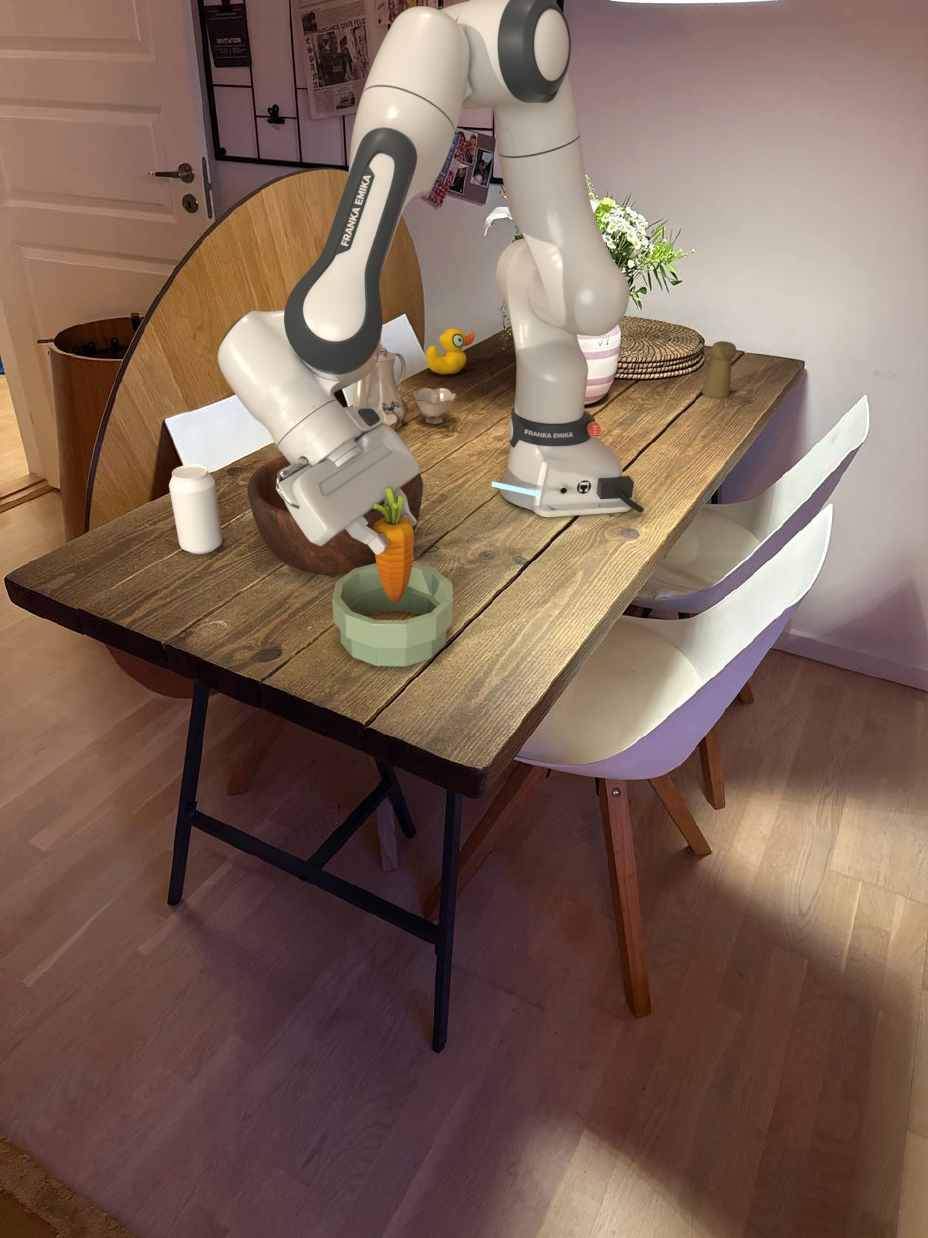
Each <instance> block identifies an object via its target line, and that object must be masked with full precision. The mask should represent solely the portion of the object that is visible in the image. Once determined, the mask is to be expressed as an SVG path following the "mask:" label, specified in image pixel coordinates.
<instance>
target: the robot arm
mask: <svg viewBox="0 0 928 1238" xmlns="http://www.w3.org/2000/svg"><path fill="white" fill-rule="evenodd" d="M571 52H572V39H571V31H570V25H569V22H568V20H567V18H566V16H565V14H564V13H563V11H562V9H561V7H560V6H559V5H558V3H557V2H556V0H467V1H463V2H459V3H455V4H453V5H449V6H445V7H444V8H443V7H431V6H426V5H417V6H412V7H410V8H407V9H404V11H402V12H401V13H400V14H399V15H398V16H397V17H396V18H395V19H394V21H392V23H391V26H390V27H389V29H388V31H387V33H386V35H385V37H384V39H383V41H382V42H381V45H380V47H379V49H378V51H377V52H376V56H375V58H374V61H373V63H372V65H371V68H370V70H369V73H368V75H367V78H366V80H365V84H364V87H363V90H362V93H361V96H360V99H359V104H358V107H357V110H356V114H355V119H354V123H353V128H352V134H351V141H350V151H349V159H348V160H349V164H348V165H349V166H348V175H347V180H346V183H345V186H344V189H343V192H342V195H341V197H340V201H339V204H338V207H337V209H336V213H335V215H334V218H333V222H332V224H331V228H330V230H329V232H328V236H327V239H326V242H325V245H324V247H323V249H322V251H321V253H320V255H319V256H318V258H317V259H316V261H315V262H314V263H313V264H312V266H311V267H310V268H309V269H308V270H307V272H305V274H303V276H302V277H301V278H300V279H299V280H298V282H297V283H296V284H295V286H294V287H293V288H292V290H291V291H290V293H289V296H288V298H287V300H286V303H285V306H284V309H281V310H268V311H267V310H266V311H264V310H257V309H255V310H254V309H253V310H250V311H249V312H246V313H245V314H244V315H242V316H240V317H239V318H238V319H237V320H236V321H235V322H234V323H232V325H231V326H230V327H229V328H228V330H226V332H225V334H224V335H223V337H222V339H221V341H220V343H219V346H218V349H217V363H218V366H219V369H220V372H221V373H222V375H223V377H224V379H225V380H226V382H227V384H228V385H229V387H230V389H231V390H232V391H233V392H234V394H235V396H236V397H237V399H239V401H240V402H241V403H242V405H243V406H244V407H245V409H246V410H247V412H248V413H249V414H250V415H251V416H252V418H253V419H255V420H256V421H257V422H259V423H260V424H262V426H264V428H265V429H267V431H268V432H269V434H270V436H271V438H272V441H273V444H274V445H275V446H276V448H277V449H278V450H279V451H280V452H281V454H282V456H285V457H286V459H287V460H288V461H289V462H290V464H291V465H290V466H288V467H287V468H283V469H281V470H280V471H279V472H278V473H277V479H276V490H277V491H278V493H279V494H280V495H281V497H282V498H283V499H284V501H285V504H286V506H287V508H288V510H289V511H290V513H291V515H292V516H293V518H294V519H295V521H296V523H297V524H298V526H299V527H300V529H301V530H302V531H303V533H304V534H305V536H306V537H307V538H308V539H309V541H310V542H312V543H314V544H316V545H318V546H323V545H324V544H326V543H327V542H328V541H330V540H331V539H332V538H334V537H335V536H336V535H338V534H339V533H340V532H342V531H343V530H345V529H346V530H347V531H348V533H349V534H350V535H351V536H352V537H353V538H355V539H357V540H359V541H361V542H363V543H365V544H368V546H369V547H370V548H371V549H372V551H373V552H374V553H375V554H376V555H379V554H380V553H382V552H383V551H384V550H385V549H387V548H388V547H389V546H390V545H391V542H390V540H389V539H387V537H386V535H385V534H384V533H383V532H382V533H381V534H378V533H376V532H375V531H373V530H372V529H370V528H369V527H367V526H366V525H367V524H368V522H367V521H366V519H365V518H364V517H363V515H365V514H366V513H367V512H369V511H370V510H372V509H373V505H374V504H380V503H381V502H382V501H384V502H385V503H388V504H389V505H390V503H389V500H388V497H387V494H386V491H385V489H387V488H388V487H389V488H392V489H393V492H394V494H395V498H396V502H397V501H398V496H399V495H401V496H402V497H403V506H402V510H401V513H400V516H399V517H402V518H405V519H408V520H409V521H410V522H411V525H412V527H413V526H415V525H416V524H417V525H418V522H417V520H416V519H415V518H414V516H413V515H412V514H411V512H410V511H409V506H408V502H407V498H406V495H405V494H404V493H403V491H402V490H401V489H400V488H401V487H403V486H404V485H405V484H407V483H408V482H409V481H410V480H412V479H413V478H414V477H415V476H416V475H418V474H419V473H420V472H421V471H420V465H419V461H418V459H417V458H416V456H415V455H414V453H413V452H412V451H411V449H410V448H409V446H408V445H407V444H406V443H405V442H404V440H403V439H402V438H401V437H400V435H399V434H398V433H397V432H396V430H395V431H394V430H393V429H392V428H390V427H389V426H386V425H380V424H382V423H383V421H384V419H385V418H384V416H383V414H382V413H381V412H380V410H379V409H378V408H376V407H353V406H343V405H342V404H341V403H340V402H339V400H338V399H337V398H336V396H335V393H338V392H340V391H342V390H343V389H346V388H347V387H350V386H352V385H353V384H356V382H358V381H360V380H362V379H363V378H365V377H366V376H367V375H368V374H369V373H370V372H371V371H372V370H373V368H374V367H375V365H376V363H377V361H378V359H379V355H380V349H381V344H382V331H383V320H384V319H383V308H382V299H381V294H380V293H381V292H380V287H381V278H382V274H383V271H384V268H385V264H386V261H387V259H388V255H389V252H390V249H391V247H392V243H393V241H394V237H395V235H396V231H397V228H398V225H399V222H400V219H401V217H402V214H403V212H404V210H405V209H406V207H407V205H408V203H410V201H415V200H417V199H420V198H422V197H424V196H425V195H427V194H428V193H429V192H431V190H432V188H433V187H434V185H435V183H436V181H437V179H438V177H439V176H440V172H442V170H443V167H444V165H445V163H446V160H447V158H448V156H449V152H450V149H451V148H452V145H453V141H454V138H455V134H456V132H457V129H458V128H457V127H458V125H459V121H460V117H461V113H462V110H487V109H490V108H491V109H492V111H493V125H494V132H495V140H496V141H495V142H496V147H497V154H498V159H499V165H500V170H501V177H502V182H503V187H504V193H505V199H506V206H507V210H508V213H509V215H510V218H511V219H512V221H513V222H514V223H515V225H516V227H517V228H518V229H519V231H520V233H521V235H522V237H523V238H519V239H517V240H514V241H513V242H511V243H510V244H509V245H507V247H506V248H505V249H504V250H503V251H502V253H501V254H500V256H499V258H498V261H497V265H496V269H495V270H496V271H495V278H496V284H497V286H498V289H499V291H500V293H501V295H502V297H503V299H504V302H505V304H506V308H507V312H508V316H509V322H510V327H511V332H512V337H513V345H514V350H515V351H514V352H515V361H516V362H515V363H516V368H515V369H516V370H515V371H516V372H515V393H514V406H513V407H512V409H511V415H510V419H509V432H508V433H509V444H510V448H509V453H508V459H507V463H506V468H505V472H504V473H503V474H504V475H503V478H502V481H501V482H496V481H491V487H493V488H497V489H499V493H500V495H501V496H502V497H503V498H504V499H505V500H506V501H508V502H510V503H511V504H513V505H516V506H518V507H521V508H524V509H527V510H530V511H532V513H534V514H537V516H540V517H542V518H557V517H571V516H586V515H598V514H599V515H600V514H615V513H626V512H629V511H631V510H634V511H636V512H637V513H639V514H642V513H643V512H644V511H645V508H644V507H642V505H640V504H638V503H636V502H635V491H634V485H635V481H634V480H633V479H632V477H631V476H630V475H624V474H623V473H624V472H623V468H622V467H623V466H622V464H621V461H620V459H619V457H618V455H617V454H616V453H615V451H613V449H612V448H610V447H609V446H608V445H606V444H605V443H604V442H603V441H602V440H600V438H598V437H599V436H600V435H601V433H602V428H601V426H600V423H598V422H597V421H596V418H595V417H594V416H593V415H592V413H591V412H590V411H589V410H588V409H587V410H585V402H586V395H587V394H586V393H587V385H588V376H589V375H588V373H589V366H588V361H587V358H586V356H585V354H584V352H583V350H582V347H581V345H580V342H579V339H578V336H589V337H600V336H604V335H606V334H608V333H610V332H611V331H613V330H614V329H615V328H616V327H617V326H618V325H619V324H620V323H621V321H622V320H623V319H624V316H625V314H626V312H627V310H628V307H629V303H630V285H629V282H628V281H629V280H628V279H627V277H626V276H625V274H624V273H623V271H622V270H621V269H620V267H619V266H618V265H617V263H616V262H615V260H614V259H613V257H612V255H611V253H610V251H609V249H608V247H607V244H606V242H605V240H604V237H603V234H602V231H601V229H600V226H599V224H598V221H597V218H596V216H595V212H594V210H593V206H592V202H591V199H590V194H589V191H588V190H589V189H588V185H587V184H588V183H587V177H586V169H585V163H584V155H583V147H582V138H581V129H580V123H579V117H578V111H577V106H576V105H577V104H576V101H575V96H574V92H573V88H572V84H571V81H570V77H569V74H568V69H569V66H570V62H571V61H570V60H571V54H572V53H571ZM294 473H295V474H294ZM292 474H293V475H292ZM280 480H283V481H281V482H280ZM417 525H416V526H417Z"/></svg>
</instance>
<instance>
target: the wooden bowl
mask: <svg viewBox="0 0 928 1238" xmlns="http://www.w3.org/2000/svg"><path fill="white" fill-rule="evenodd" d="M290 465H291V464H290V462H289V461H288V460H287V459H286V457H285V456H284V455H282V456H278V457H276V458H274V459H271V460H270V461H268V462H266V463H264V464H263V465H261V466H260V467H259V468H258V469H256V470H255V471H254V472H253V473H252V474H251V476H250V478H249V480H248V481H247V488H246V491H247V492H246V493H247V497H248V502H249V506H250V509H251V513H252V516H253V519H254V523H255V526H256V528H257V530H258V532H259V534H260V536H261V539H262V540H263V542H264V544H265V545H266V546H267V547H268V549H269V550H270V551H271V552H272V554H274V556H275V557H276V558H278V559H279V560H280V561H281V562H283V563H284V564H286V565H288V566H291V567H293V568H294V569H296V570H300V571H303V572H306V573H307V572H308V573H312V574H313V573H314V574H317V575H333V576H334V575H335V576H337V575H338V576H339V575H346V574H348V573H349V572H350V571H352V570H353V569H355V568H359V567H363V566H366V565H370V564H374V563H376V558H375V553H374V552H373V551H372V549H371V548H370V547H369V546H368V544H365V543H363V542H361V541H359V540H357V539H355V538H353V537H352V536H351V535H350V534H349V533H348V531H347V530H346V529H345V530H343V531H342V532H340V533H339V534H338V535H336V536H335V537H334V538H332V539H331V540H330V541H328V542H327V543H326V544H324V545H323V546H318V545H316V544H314V543H312V542H310V541H309V539H308V538H307V537H306V536H305V534H304V533H303V531H302V530H301V529H300V527H299V526H298V524H297V523H296V521H295V519H294V518H293V516H292V515H291V513H290V511H289V510H288V508H287V506H286V504H285V501H284V499H283V498H282V497H281V495H280V494H279V493H278V491H277V490H276V479H277V473H278V472H279V471H280V470H281V469H283V468H287V467H288V466H290ZM294 474H295V473H294ZM292 475H293V474H292ZM281 481H283V480H280V482H281ZM400 489H401V490H402V491H403V493H404V494H405V495H406V498H407V502H408V506H409V511H410V512H411V514H412V515H413V516H414V518H415V519H416V520H417V524H416V525H415V526H413V527H412V528H413V532H414V533H415V531H416V528H417V526H418V522H419V519H420V513H421V507H422V501H423V494H424V481H423V477H422V475H421V473H420V472H419V474H418V475H416V476H415V477H414V478H413V479H412V480H410V481H409V482H408V483H407V484H405V485H404V486H403V487H401V488H400ZM384 503H385V502H384V501H382V502H381V503H380V504H378V505H381V506H383V504H384ZM383 507H384V506H383ZM390 508H391V507H390ZM363 517H364V518H365V519H366V521H367V522H368V524H367V525H366V526H367V527H369V528H370V529H372V530H373V526H374V524H375V523H376V522H377V521H379V520H380V519H382V518H384V517H385V516H384V515H383V514H382V513H381V512H380V511H378V510H375V509H372V510H370V511H369V512H367V513H366V514H365V515H363Z"/></svg>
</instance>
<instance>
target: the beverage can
mask: <svg viewBox="0 0 928 1238" xmlns="http://www.w3.org/2000/svg"><path fill="white" fill-rule="evenodd" d="M168 488H169V493H170V499H171V504H172V511H173V515H174V516H173V517H174V522H175V528H176V533H177V540H178V544H179V546H180V547H179V548H181V549H182V550H183V551H186V552H188V553H191V554H195V555H204V554H208V553H212V552H213V551H215V550H216V549H217V548H219V547H220V546H221V545H222V544H223V542H224V541H223V540H224V539H223V529H222V524H221V515H220V508H219V501H218V495H217V488H216V480H215V479H214V477H213V476H212V475H211V473H210V472H209V469H208V467H206V466H205V465H201V464H184V465H181V466H178V467H176V468H174V469H173V470H172V472H171V479H170V480H169V484H168Z"/></svg>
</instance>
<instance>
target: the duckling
mask: <svg viewBox="0 0 928 1238" xmlns="http://www.w3.org/2000/svg"><path fill="white" fill-rule="evenodd" d="M475 337H476V335H475V332H474V331H471V332H470V333H469V334H468V335H466V334H465V332H464V331H463V330H462V329H460V328H458V327H450V328H448V329H446V330H444V332H442V334H440V336H439V342H440V344H441V346H442V347H443V349H444V350H445V351H446V352H445V353H443V354H440V353H439V350H438V348H437V346H436V345H430V346H429V347H427V349H426V352H425V362H426V365H427V367H428V369H430V371H432V372H434V373H436V374H439V375H455V374H458V373H459V372H460V371H461V370H462V369H463V368H464V367H465V365H466V363H467V355H466V353H465V352H464V351H463V348H464V347H468V346H470V345H471V344H473V342H474V340H475Z"/></svg>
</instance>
